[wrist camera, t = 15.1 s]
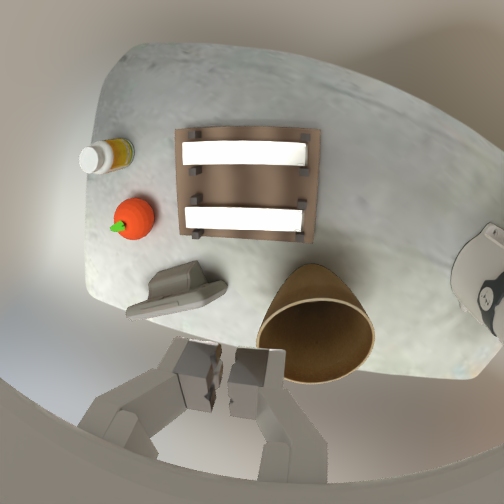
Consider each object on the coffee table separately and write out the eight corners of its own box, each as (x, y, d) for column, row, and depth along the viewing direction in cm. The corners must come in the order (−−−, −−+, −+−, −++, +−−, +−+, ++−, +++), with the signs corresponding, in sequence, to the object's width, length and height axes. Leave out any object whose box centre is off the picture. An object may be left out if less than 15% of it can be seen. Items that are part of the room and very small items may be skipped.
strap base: (318, 130, 37) (322, 129, 31) (311, 233, 43) (313, 250, 37) (185, 129, 39) (167, 129, 33) (188, 226, 46) (173, 241, 40)
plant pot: (251, 288, 49) (233, 351, 34) (307, 225, 43) (312, 273, 28) (314, 331, 51) (316, 397, 36) (371, 278, 45) (397, 339, 30)
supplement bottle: (119, 173, 44) (85, 185, 35) (106, 149, 42) (70, 156, 33) (140, 157, 42) (106, 164, 33) (126, 132, 40) (91, 134, 32)
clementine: (131, 237, 48) (111, 252, 42) (118, 202, 46) (95, 213, 39) (166, 226, 46) (147, 241, 40) (152, 188, 44) (130, 198, 37)
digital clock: (156, 304, 54) (132, 336, 44) (142, 264, 50) (113, 292, 41) (232, 302, 51) (219, 340, 41) (223, 257, 47) (204, 290, 38)
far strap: (304, 209, 37) (305, 210, 37) (302, 229, 39) (303, 231, 38) (186, 206, 38) (184, 207, 38) (187, 226, 40) (186, 227, 39)
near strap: (308, 143, 34) (308, 143, 33) (307, 165, 35) (307, 166, 34) (184, 142, 35) (182, 142, 34) (184, 164, 36) (183, 164, 35)
